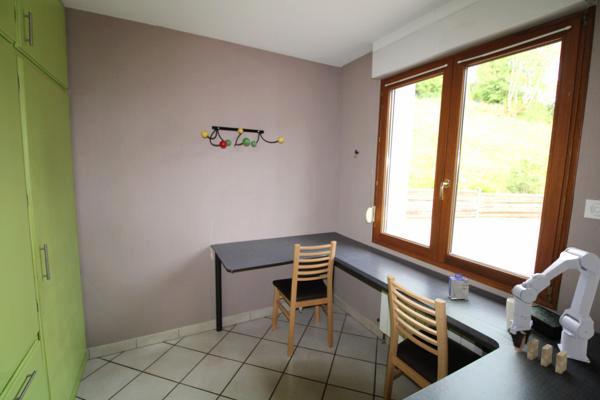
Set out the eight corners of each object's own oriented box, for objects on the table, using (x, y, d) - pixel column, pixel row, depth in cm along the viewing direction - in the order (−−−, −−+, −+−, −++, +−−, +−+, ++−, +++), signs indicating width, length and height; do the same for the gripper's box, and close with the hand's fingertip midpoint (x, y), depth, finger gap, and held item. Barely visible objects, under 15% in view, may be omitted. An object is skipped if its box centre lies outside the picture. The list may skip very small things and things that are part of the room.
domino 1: (537, 356, 116) (538, 340, 116) (531, 360, 114) (533, 343, 113) (532, 354, 118) (534, 338, 117) (527, 358, 115) (528, 341, 115)
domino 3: (566, 369, 108) (567, 352, 108) (560, 374, 106) (562, 356, 105) (560, 367, 110) (562, 350, 109) (555, 371, 108) (556, 354, 107)
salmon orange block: (524, 348, 120) (525, 332, 119) (518, 351, 118) (520, 335, 117) (520, 346, 122) (521, 330, 121) (514, 349, 119) (515, 333, 119)
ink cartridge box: (465, 296, 172) (466, 273, 170) (468, 301, 166) (470, 277, 165) (447, 295, 174) (448, 272, 172) (450, 299, 168) (451, 275, 167)
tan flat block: (551, 362, 112) (552, 346, 112) (545, 366, 110) (547, 349, 109) (546, 360, 114) (547, 344, 113) (540, 364, 111) (541, 347, 111)
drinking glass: (501, 329, 136) (503, 299, 135) (510, 326, 139) (512, 296, 138) (516, 336, 130) (519, 305, 129) (525, 333, 133) (528, 302, 131)
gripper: (519, 306, 125) (517, 335, 126) (502, 314, 118) (500, 345, 119) (539, 313, 119) (536, 343, 120) (522, 322, 112) (519, 354, 113)
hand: (520, 345), depth 120 cm, fingers closed on salmon orange block, 5 cm apart
